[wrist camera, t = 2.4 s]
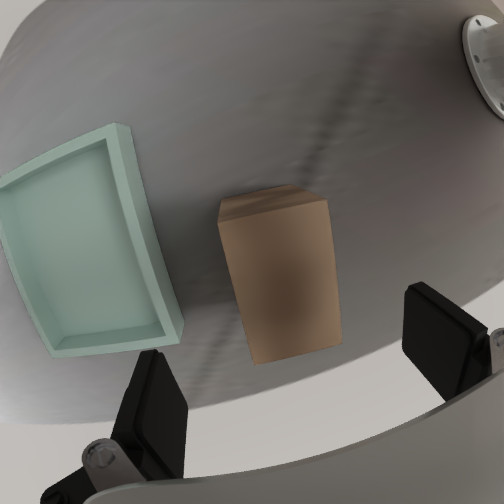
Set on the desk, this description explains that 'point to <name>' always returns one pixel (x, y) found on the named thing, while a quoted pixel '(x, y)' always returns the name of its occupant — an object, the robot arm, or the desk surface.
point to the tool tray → (88, 248)
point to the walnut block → (282, 271)
